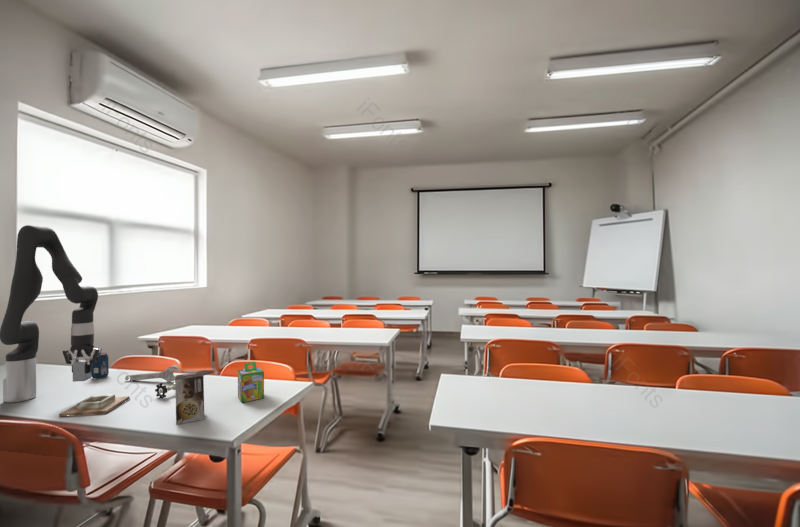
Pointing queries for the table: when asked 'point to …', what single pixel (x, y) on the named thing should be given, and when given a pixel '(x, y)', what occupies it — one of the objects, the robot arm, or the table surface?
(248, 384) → the chalk box
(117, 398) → the collar base
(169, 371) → the wrench
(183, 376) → the printed cardboard box
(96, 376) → the soda can
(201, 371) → the phone
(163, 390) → the valve
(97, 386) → the table surface
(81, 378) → the block
